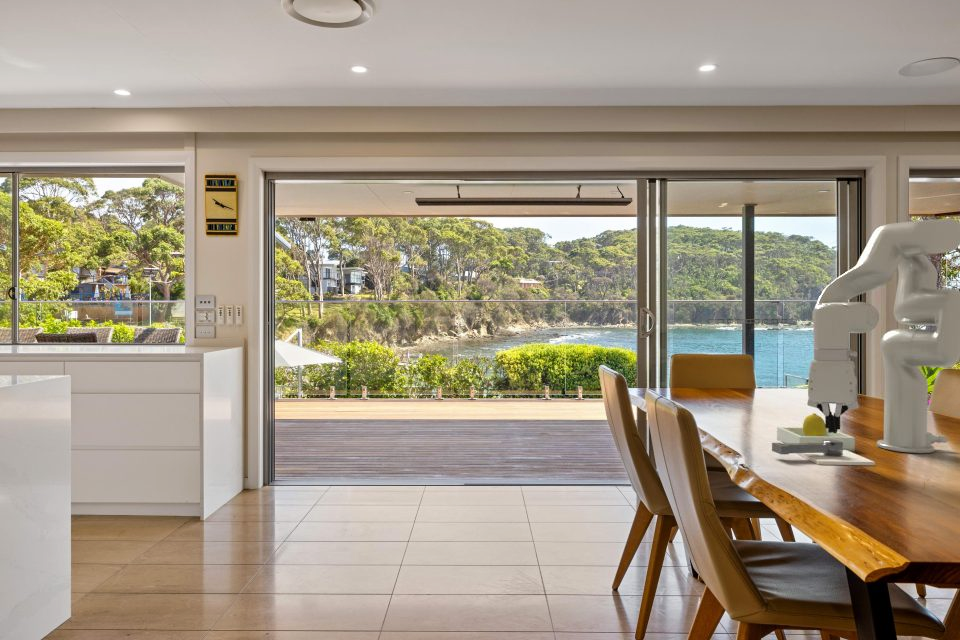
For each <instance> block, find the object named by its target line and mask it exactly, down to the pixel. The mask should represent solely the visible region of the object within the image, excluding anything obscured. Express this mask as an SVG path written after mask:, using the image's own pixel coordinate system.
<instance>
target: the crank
mask: <svg viewBox="0 0 960 640" xmlns="http://www.w3.org/2000/svg"><path fill="white" fill-rule="evenodd" d="M771 452H773V453H777V454H778V455H790V454H796V453H823V454H827V455H833V456H841V455H843V442H841V441H837V440H822V443H783V442H771Z"/></svg>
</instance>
